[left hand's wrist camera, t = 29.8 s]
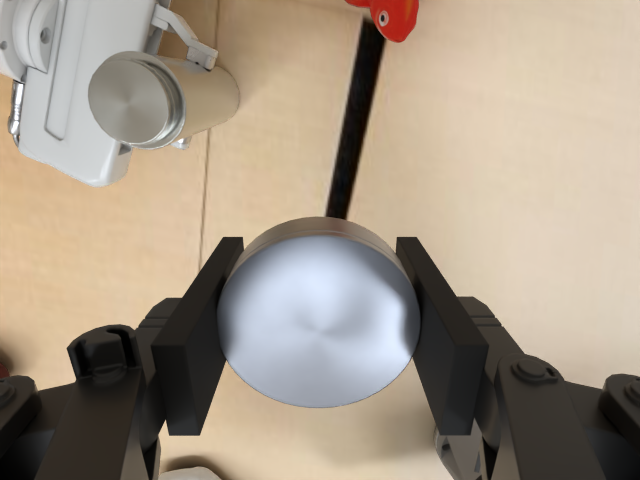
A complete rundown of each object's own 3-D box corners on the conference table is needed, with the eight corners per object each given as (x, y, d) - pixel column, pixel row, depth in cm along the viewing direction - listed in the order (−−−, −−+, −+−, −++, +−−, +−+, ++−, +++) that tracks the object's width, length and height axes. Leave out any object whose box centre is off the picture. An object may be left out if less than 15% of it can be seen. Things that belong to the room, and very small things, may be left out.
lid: (322, 399, 14) (322, 436, 12) (191, 305, 12) (173, 334, 11) (446, 298, 12) (464, 327, 11) (314, 175, 11) (313, 188, 9)
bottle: (190, 56, 34) (81, 32, 18) (245, 75, 35) (186, 69, 19) (180, 113, 36) (74, 136, 20) (232, 130, 37) (169, 166, 21)
